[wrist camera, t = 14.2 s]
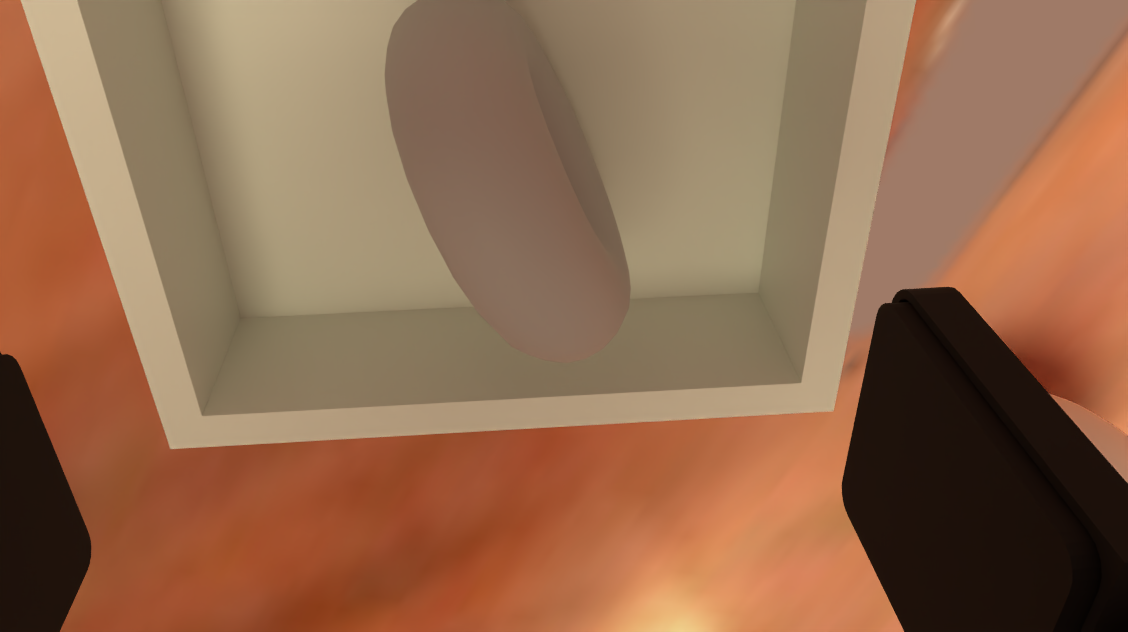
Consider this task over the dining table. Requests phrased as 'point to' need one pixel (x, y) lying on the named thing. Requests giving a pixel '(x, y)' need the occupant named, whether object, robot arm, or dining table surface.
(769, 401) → the bin
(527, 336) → the donut
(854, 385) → the dining table surface
